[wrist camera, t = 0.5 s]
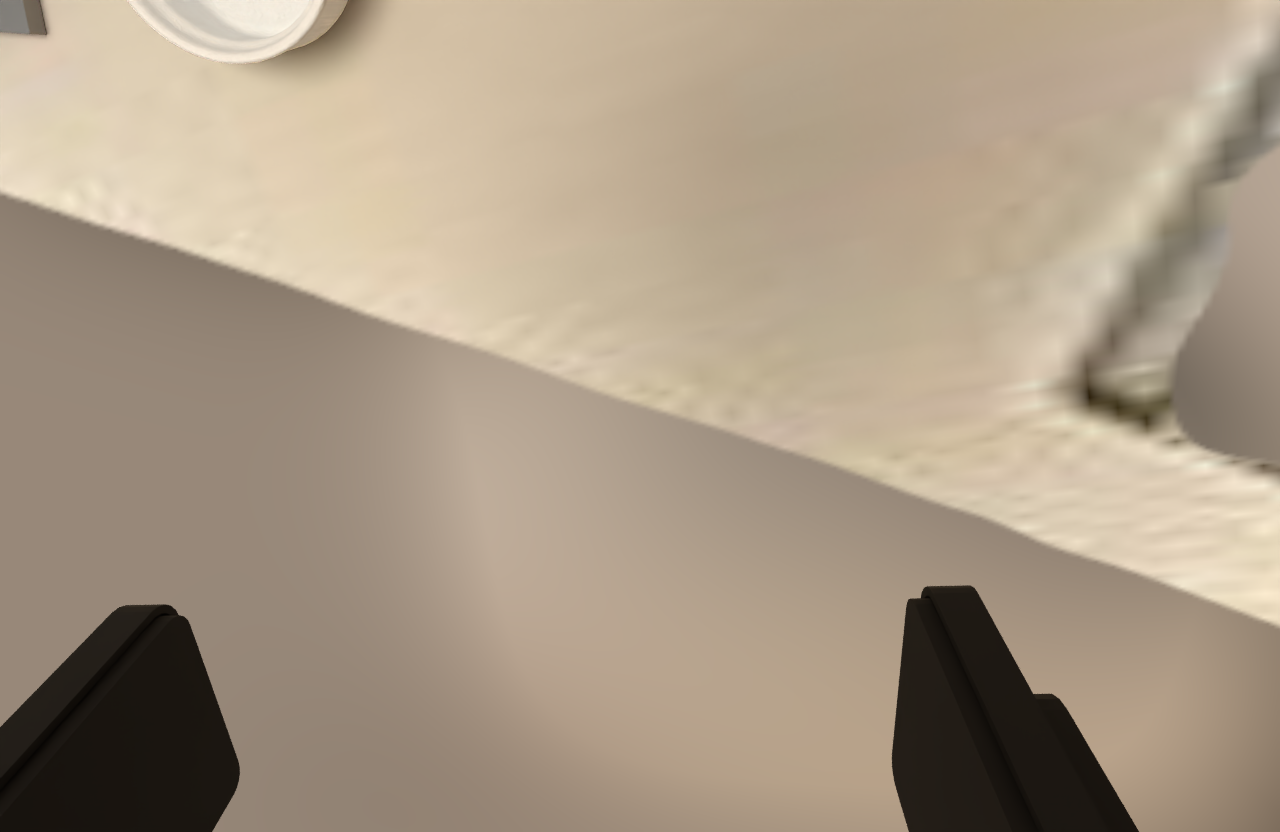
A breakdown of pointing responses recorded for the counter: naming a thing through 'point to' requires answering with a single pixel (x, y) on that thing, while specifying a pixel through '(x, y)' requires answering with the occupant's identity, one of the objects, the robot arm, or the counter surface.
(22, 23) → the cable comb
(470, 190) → the counter surface
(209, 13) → the ramekin
